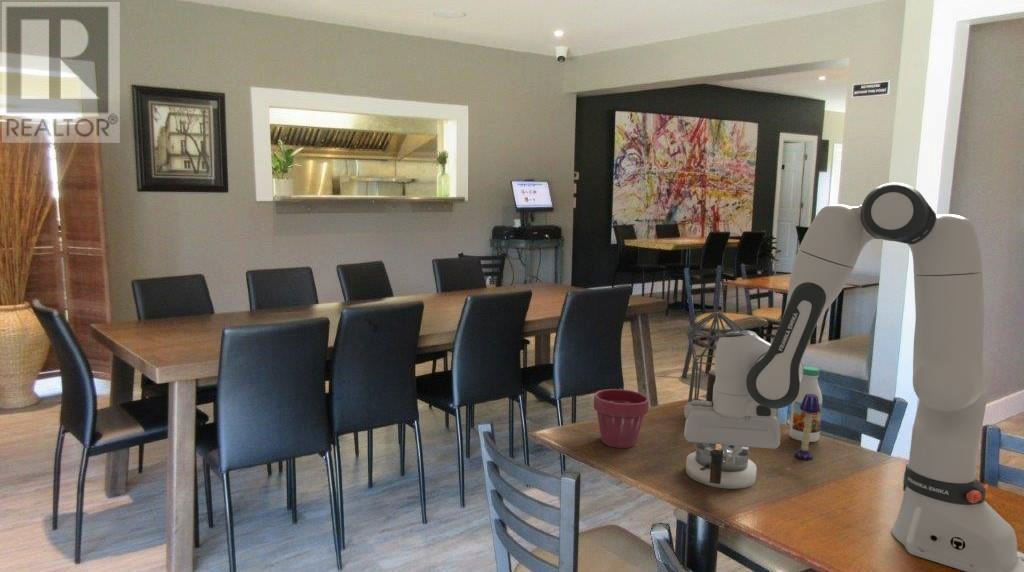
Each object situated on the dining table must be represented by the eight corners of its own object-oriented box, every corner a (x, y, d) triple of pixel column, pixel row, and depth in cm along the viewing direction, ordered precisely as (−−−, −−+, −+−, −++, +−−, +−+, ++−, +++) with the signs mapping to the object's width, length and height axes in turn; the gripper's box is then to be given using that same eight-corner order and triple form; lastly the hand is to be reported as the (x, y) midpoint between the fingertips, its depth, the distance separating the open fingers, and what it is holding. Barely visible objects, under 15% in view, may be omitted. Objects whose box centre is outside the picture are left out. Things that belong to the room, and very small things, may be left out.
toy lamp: (811, 454, 181) (817, 392, 179) (817, 461, 176) (823, 398, 174) (792, 453, 182) (798, 391, 179) (798, 460, 177) (803, 396, 175)
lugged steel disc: (698, 449, 174) (700, 421, 173) (749, 457, 169) (751, 429, 168) (686, 480, 154) (688, 449, 153) (743, 490, 150) (745, 459, 149)
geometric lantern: (680, 442, 187) (687, 314, 183) (683, 426, 202) (689, 306, 198) (742, 449, 183) (750, 318, 179) (740, 432, 198) (747, 310, 194)
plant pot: (645, 435, 192) (647, 390, 190) (646, 454, 178) (649, 405, 177) (593, 431, 194) (595, 386, 192) (590, 449, 180) (593, 401, 179)
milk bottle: (783, 435, 196) (788, 365, 193) (803, 431, 199) (809, 363, 196) (804, 444, 189) (811, 372, 186) (825, 440, 192) (831, 370, 189)
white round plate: (769, 478, 165) (770, 465, 165) (729, 494, 155) (730, 481, 155) (712, 457, 177) (713, 445, 177) (672, 471, 167) (672, 458, 167)
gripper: (685, 403, 152) (682, 464, 154) (784, 410, 148) (779, 472, 150) (684, 395, 158) (681, 454, 160) (778, 402, 154) (774, 461, 156)
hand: (729, 463), depth 155 cm, fingers closed
